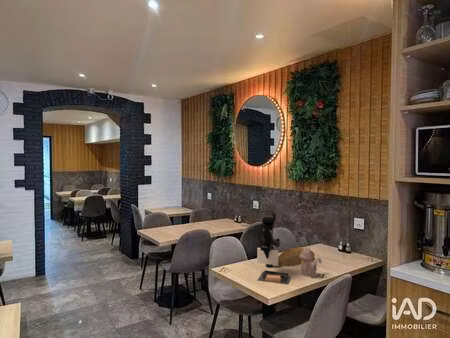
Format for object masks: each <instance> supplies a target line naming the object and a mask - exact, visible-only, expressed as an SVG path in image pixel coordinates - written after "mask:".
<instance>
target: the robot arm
mask: <svg viewBox="0 0 450 338" xmlns="http://www.w3.org/2000/svg"><path fill="white" fill-rule="evenodd" d="M276 221H277V213H275V211H274V210H272V209H268V210H266V212H265V213H264V216H263V218H262V219H261V228H263V231H262V233H261V234H262V239H263V242H262V245H261V246H260V248H261V251H264V254H265V256H266V258H267V259H268V257H269V252H270V251H271V249H275V248H279V247H280V246H281V239H280V238H276V239H275V238H274V227H275V225H276ZM274 247H275V248H274ZM275 266H276V265H270V264H265V267H266V269H267V268H268V269H269V268H270V269H271V268H273V267H275Z"/></svg>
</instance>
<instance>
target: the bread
mask: <svg viewBox="0 0 450 338" xmlns="http://www.w3.org/2000/svg"><path fill="white" fill-rule="evenodd" d="M304 248H305V247H302V246H299V247H293V248H287V249H285V250H284V251H283V252H281V253H280V254H278V265H277V266H278V267H291V266H297V265H301V258H300V257H299V255H300V253H301V251H303V250H304ZM311 253H312V256H313V259H312V262H314V261H313V260H315V259H316V257H315V252H314V251H312V250H311Z"/></svg>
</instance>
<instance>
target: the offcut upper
mask: <svg viewBox="0 0 450 338" xmlns="http://www.w3.org/2000/svg"><path fill="white" fill-rule="evenodd" d="M266 280H277V281H280V276H278V275H267V277H266Z"/></svg>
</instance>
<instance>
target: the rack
mask: <svg viewBox="0 0 450 338" xmlns="http://www.w3.org/2000/svg"><path fill="white" fill-rule="evenodd" d="M267 275H278V276H280V278H282V281H281V284H280V283H278V284H280V285H286V286H287V285H288V286H289V285H290V282H291V279H292V275H289V272H281V271H275V270H274V271H272V270H264V271H263V272H262V273H261V274H260V276H259V277H258V278H257V280H256V281H259V282H264V283H266V282H265V278H266V276H267ZM270 283H272V282H270Z"/></svg>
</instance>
